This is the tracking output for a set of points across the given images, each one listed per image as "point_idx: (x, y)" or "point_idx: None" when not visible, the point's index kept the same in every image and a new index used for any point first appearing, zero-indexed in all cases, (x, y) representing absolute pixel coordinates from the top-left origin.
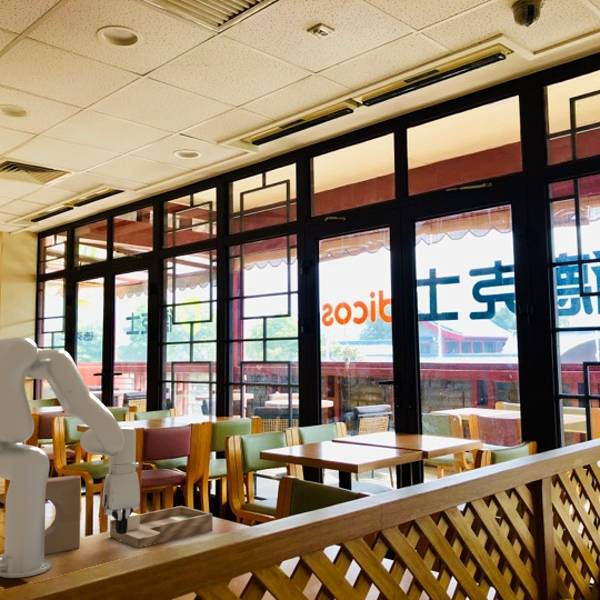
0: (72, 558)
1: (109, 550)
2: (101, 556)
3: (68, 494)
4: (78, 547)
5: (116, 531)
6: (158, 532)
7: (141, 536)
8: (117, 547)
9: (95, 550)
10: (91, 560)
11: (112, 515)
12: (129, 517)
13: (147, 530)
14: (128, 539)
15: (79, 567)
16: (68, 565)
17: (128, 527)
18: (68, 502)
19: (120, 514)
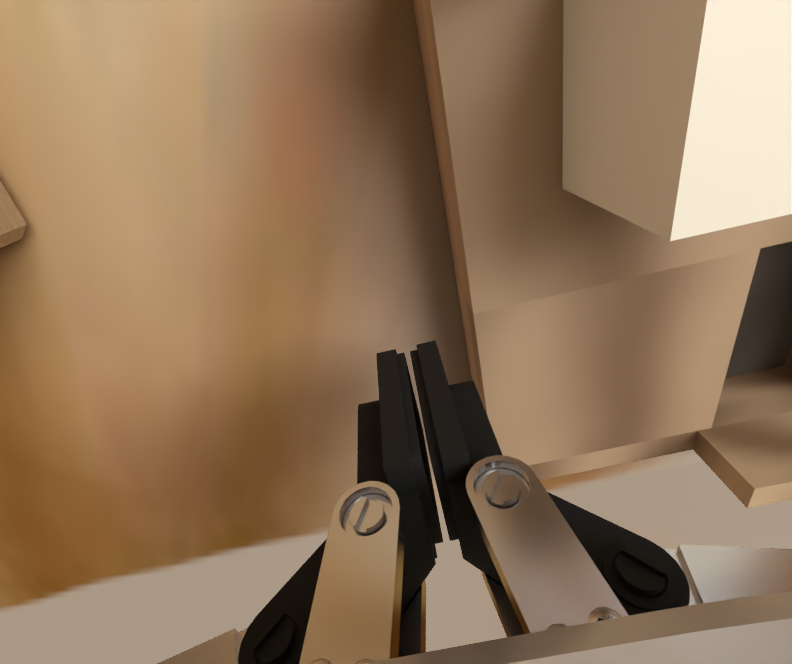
0: (34, 445)
1: (294, 401)
2: (229, 480)
3: None
4: (18, 237)
5: (377, 360)
6: (703, 411)
7: (541, 446)
8: (362, 365)
9: (193, 356)
10: (168, 514)
11: (293, 599)
12: (690, 229)
13: (698, 307)
14: (470, 344)
15: (110, 570)
16: (39, 533)
17: (586, 195)
18: None
19: (405, 650)
